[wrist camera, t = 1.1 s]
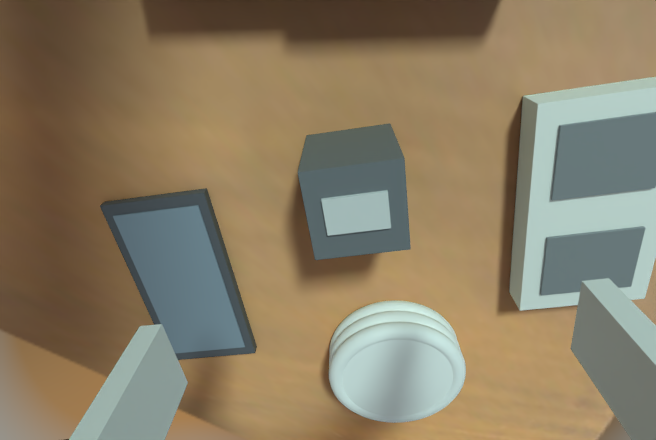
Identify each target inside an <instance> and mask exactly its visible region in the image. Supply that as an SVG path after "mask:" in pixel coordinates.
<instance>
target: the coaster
mask: <svg viewBox="0 0 656 440" xmlns="http://www.w3.org/2000/svg"><path fill="white" fill-rule="evenodd" d="M329 353H330V356H329V381H330V385H331V388H332V390H333V392H334V394H335V396H336V397H337V399H338V400H339V401H340V402H341V403H342V404H343V405H344V406H346V407H347V408H348V409H350V410H351V411H353V412H355V413H356V414H359V415H361V416H363V417H366V418H369V419H372V420H376V421H382V422H394V423H396V422H409V421H414V420H419V419H422V418H425V417H428V416H430V415H433V414H434V413H436V412H438V411H440V410H441V409H443V408H444V407H446V406H447V405H448V404H449V403H450V402H452V400H453V399H454V398H455V397H456V396H457V395H458V393H459V392H460V390H461V388H462V386H463V384H464V380H465V373H466V368H465V361H464V357H463V355H462V353H461V349H460V346H459V344H458V341H457V337H456V334H455V332H454V330H453V328H452V327H451V325H450V324H449V323H448V322H447V321H446V320H445V319H444V318H443V317H442V316H441V315H440V314H439V313H437V312H436V311H434V310H432V309H431V308H429V307H426V306H424V305H421V304H417V303H414V302H408V301H396V300H394V301H383V302H377V303H373V304H370V305H367V306H364V307H362V308H360V309H358V310H356V311H354V312H353V313H351V314H350V315H348V316H347V317H346V318H345V319H344V320H343V321H342V322H341V323H340V324H339V326H338V327H337V329H336V330H335V332H334V335H333V337H332V339H331V343H330V349H329Z"/></svg>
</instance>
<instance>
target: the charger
mask: <svg viewBox="0 0 656 440" xmlns="http://www.w3.org/2000/svg"><path fill="white" fill-rule="evenodd" d="M298 177H299V182H300V187H301V192H302V197H303V202H304V207H305V212H306V217H307V222H308V227H309V232H310V237H311V242H312V247H313V252H314V257H315V260H320V259H329V258H338V257H347V256H356V255H364V254H373V253H382V252H391V251H400V250H408V249H410V234H409V219H408V205H407V190H406V175H405V160H404V156H403V154H402V151H401V149H400V146H399V144H398V141H397V139H396V136H395V134H394V132H393V129H392V127H391V124H383V125H376V126H369V127H362V128H355V129H348V130H341V131H334V132H327V133H320V134H313V135H307V136H306V140H305V144H304V148H303V152H302V156H301V161H300V165H299V169H298Z"/></svg>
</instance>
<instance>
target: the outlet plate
mask: <svg viewBox="0 0 656 440" xmlns="http://www.w3.org/2000/svg"><path fill="white" fill-rule="evenodd" d="M655 258H656V77H650V78H643V79H637V80H630V81H623V82H616V83H609V84H602V85H595V86H588V87H581V88H574V89H568V90H561V91H554V92H547V93H540V94H533V95H526V96H523V102H522V116H521V130H520V145H519V159H518V173H517V188H516V202H515V216H514V230H513V245H512V259H511V273H510V287H509V293H510V294H511V296H512V298H513V300H514V301H515V303H516V305H517V306H518V308H519V310H520V311H521V310H531V309H541V308H551V307H562V306H572V305H578V301H579V295H580V289H581V283H582V281H586V280H596V279H606V278H609V279H610V280H611V281H612V282H613V283H614V284H615V285H616V286H617V287H618V288H619V289H620V290H621V291H622V292H623V293H624V294H625V295H626V296H627V297H628V298H629V299H630V300H634V299H644V298H645V295H646V292H647V288H648V284H649V280H650V277H651V273H652V269H653V265H654V262H655Z"/></svg>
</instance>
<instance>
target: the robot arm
mask: <svg viewBox="0 0 656 440" xmlns="http://www.w3.org/2000/svg"><path fill="white" fill-rule="evenodd" d="M571 350H572V352H573V353H574V355H575V356H576V358H577V359H578V361H579V362H580V364H581V365H582V367H583V368H584V370H585V371H586V373H587V374H588V376H589V377H590V379H591V380H592V382H593V383H594V384H595V386H596V387H597V389H598V390H599V392H600V393H601V395H602V396H603V398H604V399H605V401H606V402H607V404H608V405H609V407H610V408H611V410H612V411H613V413H614V414H615V416H616V417H617V419H618V420H619V422H620V423H621V425H622V426H623V428H624V429H625V431H626V432H627V434H628V435H629V437H630V438H631V440H656V325H655V324H654V323H653V322H652V321H651V320H650V319H649V318H648V317H647V316H646V315H645V314H644V313H643V312H642V311H641V310H640V309H639V308H638V307H637V306H636V305H635V304H634V303H633V302H632V301H631V300H630V299H629V298H628V297H627V296H626V295H625V294H624V293H623V292H622V291H621V290H620V289H619V288H618V287H617V286H616V285H615V284H614V283H613V282H612V281H611V280H610V279H609V278H606V279H596V280H586V281H582V283H581V289H580V295H579V301H578V308H577V314H576V320H575V326H574V332H573V338H572V344H571ZM187 383H188V382H187V380H186V377H185V375H184V373H183V371H182V368H181V366H180V364H179V361H178V359H177V357H176V355H175V352H174V350H173V348H172V346H171V343H170V341H169V339H168V337H167V334H166V332H165V330H164V327H163V325H162V324H157V325H147V326H140V327H139V328H138V330H137V332H136V333H135V335H134V336H133V338H132V340H131V341H130V343H129V344H128V346H127V348H126V349H125V351H124V352H123V354H122V356H121V357H120V359H119V360H118V362H117V364H116V365H115V367H114V368H113V370H112V372H111V373H110V375H109V376H108V378H107V380H106V381H105V383H104V384H103V386H102V388H101V389H100V391H99V392H98V394H97V396H96V397H95V399H94V401H93V402H92V404H91V405H90V407H89V408H88V410H87V412H86V413H85V415H84V417H83V418H82V420H81V421H80V423H79V424H78V426H77V428H76V429H75V431H74V432H73V434H72V436H71V437H70V439H66V440H165V438H166V435H167V433H168V430H169V428H170V425H171V423H172V421H173V418H174V415H175V413H176V411H177V408H178V406H179V403H180V401H181V398H182V396H183V393H184V391H185V388H186V386H187Z"/></svg>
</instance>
